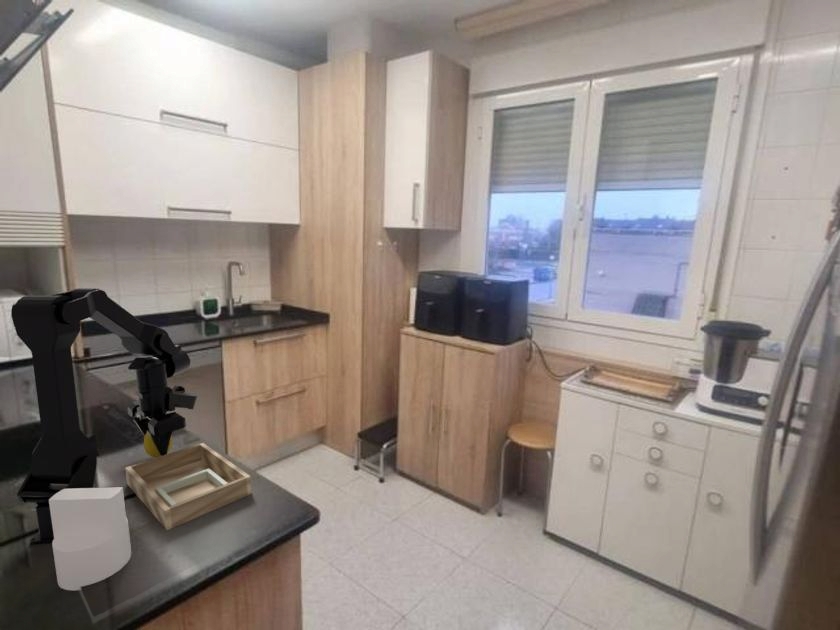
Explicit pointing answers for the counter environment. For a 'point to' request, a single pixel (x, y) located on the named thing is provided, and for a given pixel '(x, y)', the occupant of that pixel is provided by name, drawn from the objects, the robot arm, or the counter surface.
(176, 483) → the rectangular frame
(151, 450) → the lemon
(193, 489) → the walled box
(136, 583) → the counter surface
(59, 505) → the grey upright block
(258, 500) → the counter surface
